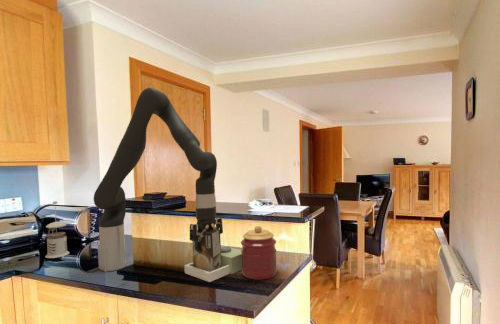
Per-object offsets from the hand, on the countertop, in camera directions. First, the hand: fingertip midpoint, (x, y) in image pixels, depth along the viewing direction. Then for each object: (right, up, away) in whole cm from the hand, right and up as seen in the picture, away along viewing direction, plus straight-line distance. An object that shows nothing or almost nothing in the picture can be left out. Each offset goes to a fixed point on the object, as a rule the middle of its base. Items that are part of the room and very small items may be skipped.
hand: (207, 248), depth 118 cm
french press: (-75, -11, +30) cm, 81 cm away
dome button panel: (+3, -9, +3) cm, 10 cm away
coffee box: (0, -9, 0) cm, 9 cm away
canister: (+19, -9, -2) cm, 21 cm away
